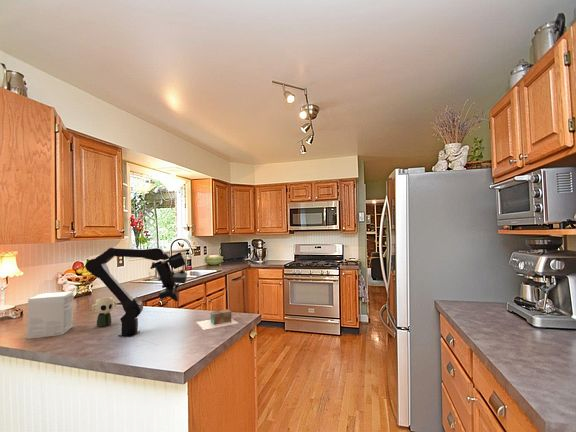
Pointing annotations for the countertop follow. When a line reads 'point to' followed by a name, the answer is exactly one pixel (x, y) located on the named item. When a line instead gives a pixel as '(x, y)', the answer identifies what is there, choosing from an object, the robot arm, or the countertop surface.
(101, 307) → the big eyed figurine
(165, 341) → the countertop surface
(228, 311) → the walnut block
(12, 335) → the countertop surface
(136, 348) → the countertop surface
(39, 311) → the supplement box
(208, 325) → the cream board
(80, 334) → the countertop surface
